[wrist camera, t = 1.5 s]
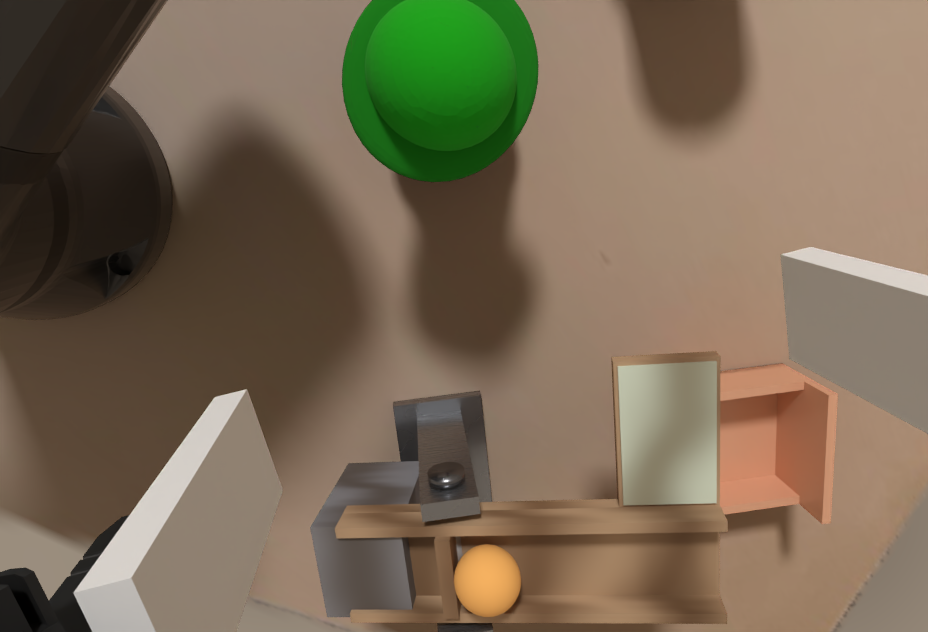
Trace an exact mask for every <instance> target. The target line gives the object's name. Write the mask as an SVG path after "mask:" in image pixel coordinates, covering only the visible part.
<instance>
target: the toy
mask: <svg viewBox="0 0 928 632" xmlns="http://www.w3.org/2000/svg"><path fill="white" fill-rule="evenodd" d="M537 84H538V56H537V49H536V44H535V40H534V36H533V33H532V31H531V28H530V25H529V23H528V21H527V19H526V17H525V15H524V13H523V12H522V10H521V9H520V7H519V6H518V4H517V3H516V1H515V0H372V1H371V2H370V3H369V5H368V6H367V7H366V8H365V9H364V11H363V13H362V14H361V16H360V17H359V19H358V20H357V22H356V24H355V26H354V29H353V31H352V33H351V35H350V38H349V41H348V44H347V47H346V51H345V56H344V62H343V69H342V87H343V96H344V102H345V106H346V110H347V114H348V117H349V119H350V122H351V124H352V126H353V129H354V131H355V133H356V134H357V136H358V137H359V139H360V141H361V142H362V144H363V145H364V146H365V147H366V149H367V150H368V151H369V152H370V153H371V154H372V155H373V156H374V157H375V158H376V159H377V160H378V161H379V162H381V163H382V164H383V165H385V166H386V167H387V168H389V169H391V170H393V171H394V172H396V173H398V174H400V175H403V176H405V177H408V178H411V179H415V180H419V181H428V182H443V181H452V180H456V179H461V178H464V177H467V176H469V175H472V174H474V173H477V172H478V171H480V170H482V169H484V168H485V167H487V166H489V165H490V164H491V163H493V162H494V161H495V160H497V159H498V158H499V157H500V156H501V155H502V154H503V153H504V152H505V151H506V150H507V149H508V148H509V147H510V146H511V145H512V143H513V142H514V141H515V139H516V138H517V136H518V135H519V134H520V132H521V130H522V128H523V127H524V125H525V123H526V121H527V119H528V116H529V114H530V112H531V109H532V106H533V102H534V99H535V94H536V89H537Z"/></svg>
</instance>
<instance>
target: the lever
mask: <svg viewBox="0 0 928 632" xmlns="http://www.w3.org/2000/svg"><path fill="white" fill-rule="evenodd" d="M611 360H612V383H613V405H614V428H615V451H616V473H617V496H618V499H592V500H551V501H511V502H479V505H480V514H476V515H469V516H462V517H455V518H448V519H441V520H434V521H427V522H422V515H421V507H420V487H419V461H406V462H377V463H349V464H348V465H347V467H346V469H345V470H344V472H343V474H342V475H341V477H340V479H339V480H338V482H337V484H336V485H335V487H334V489H333V490H332V492H331V494H330V495H329V497H328V499H327V500H326V502H325V504H324V505H323V507H322V509H321V510H320V512H319V514H318V515H317V517H316V519H315V520H314V522H313V524H312V525H311V527H310V529H311V534H312V539H313V545H314V550H315V555H316V560H317V566H318V571H319V576H320V581H321V587H322V592H323V597H324V602H325V608H326V613H327V617H351V622H354V623H671V624H727V612H726V610H725V607H724V605H723V602H722V600H721V597H720V532H728V521H727V519H726V516H725V514H724V512H723V510H722V508H721V506H720V355H719V354H718V353H717V352H716V351H711V352H693V353H675V354H657V355H640V356H622V357H611ZM484 544H490V545H496V546H498V547H501V548H503V549H504V550H506V551H507V552H508V553H509V554H510V555H511V556H512V557H513V558H514V560H515V561H516V563H517V565H518V567H519V570H520V575H521V588H520V592H519V595H518V597H517V599H516V601H515V603H514V604H513V605H512V607H511V608H510V609H508V610H507V611H506V612H504V613H503V614H500V615H498V616H494V617H482V616H478V615H476V614H473V613H472V612H470V611H469V610H467V609H466V608H465V607H464V606H463V605H462V603H461V602H460V600H459V599H458V596H457V594H456V591H455V587H454V574H455V569H456V566H457V564H458V562H459V560H460V559H461V557H462V556H463V555H464V554H465V553H466V552H467V551H468V550H470V549H472V548H473V547H476V546H479V545H484Z"/></svg>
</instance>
